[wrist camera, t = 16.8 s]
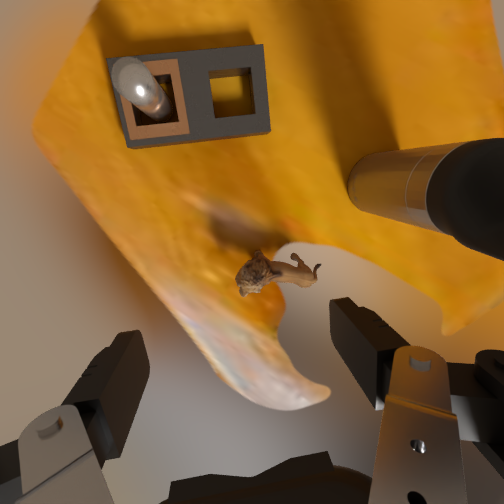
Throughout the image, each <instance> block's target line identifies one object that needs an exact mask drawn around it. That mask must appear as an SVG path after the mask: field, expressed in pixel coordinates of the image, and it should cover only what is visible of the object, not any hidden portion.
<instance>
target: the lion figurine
mask: <svg viewBox="0 0 504 504" xmlns="http://www.w3.org/2000/svg"><path fill="white" fill-rule="evenodd" d="M254 254H255V255H254V256H255V257H254V258H253V259H252V260H248V261H247V262H246V263H245V265H244V266H243V267H242V268H241V269H240V270H239V272H238V274H237V276H236V278H235V280H236V282H237V285H238V286H239V287H240V289H239V292H240V294H241V296H242V297H246V295H247V294H248V293H252V292H255V293H259V292H260V289H261V288H262V287H263V286H264V285H266V284H269V283H270V282H271V281H275V282H284V283H285V282H289V283H294V284H297V285H298V286H300V287H304V288H306V287H310V286H311V284H314V283H315V282H316V281H317V274H316V271H317V269H318V268H319V267H320V266H321V264H317V265H316V266H315V267H314V270H313V272H312V271H311V269H310V268H309V267H308V266H306V265H305V264H304V262H303V261H302V260H301V259H300V258H299V256H298V255H297V254H295V253H292V254H291V259H292V260H295V261H297V262H298V267H294V266H292V265H290V264H287V263H284V262H277V261H270V260H269V259H268V258H266V257H265V256H264V255H263V253H262V252H261V251H259V250H257V251H255V253H254ZM256 257H257V258H256Z"/></svg>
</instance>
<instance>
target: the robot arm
mask: <svg viewBox="0 0 504 504" xmlns="http://www.w3.org/2000/svg"><path fill="white" fill-rule="evenodd" d="M348 194H349V197H350V199H351V201H352V203H353V204H354V205H355V206H356V207H357V208H358V209H360V210H362V211H365V212H368V213H372V214H375V215H378V216H382V217H385V218H389V219H393V220H396V221H400V222H403V223H407V224H411V225H414V226H418V227H421V228H425V229H429V230H433V231H436V232H440V233H444V234H447V235H451V236H453V237H454V238H455V239H456V240H457V241H458V242H460V243H461V244H462V245H464V246H466V247H468V248H470V249H473V250H475V251H478V252H481V253H484V254H486V255H489V256H492V257H494V258H497V259H500V260H502V261H504V138H492V139H483V140H476V141H467V142H459V143H451V144H445V145H437V146H428V147H420V148H412V149H404V150H396V151H388V152H380V153H373V154H370V155H367V156H366V157H364V158H362V159H361V160H360V161H359V162H358V163H357V164H356V165H355V167H354V168H353V169H352V171H351V173H350V176H349V180H348ZM329 310H330V333H331V339H332V342H333V344H334V346H335V348H336V350H337V351H338V352H339V354H340V356H341V357H342V359H343V360H344V362H345V364H346V365H347V367H348V368H349V370H350V371H351V373H352V374H353V376H354V377H355V379H356V380H357V382H358V384H359V385H360V387H361V388H362V390H363V391H364V393H365V394H366V396H367V398H368V399H369V401H370V402H371V404H372V405H373V407H374V408H375V410H381V409H384V410H383V416H382V422H381V428H380V434H379V441H378V447H377V453H376V460H375V465H374V471H373V478H371V477H369V476H367V475H365V474H363V473H361V472H359V471H356V470H353V469H350V468H347V467H342V466H336V465H333V464H332V462H331V459H330V456H329V454H328V451H325V452H320V453H315V454H310V455H305V456H300V457H295V458H290V459H288V460H286V461H284V462H282V463H280V464H278V465H276V466H274V467H272V468H270V469H268V470H266V471H264V472H262V473H260V474H258V475H256V476H254V477H239V476H228V475H217V474H208V475H203V476H198V477H193V478H187V479H183V480H177V481H172V482H171V486H170V491H169V497H168V499H167V500H164V501H162V502H161V503H159V504H467V496H466V487H465V479H464V470H463V461H462V453H461V444H460V440H467V441H472V442H473V444H474V445H475V446H476V447H477V448H478V450H479V451H480V452H481V453H482V454H483V455H484V457H485V458H486V459H487V460H488V461H489V462H490V463H491V465H492V466H493V467H494V468H495V469H496V471H497V472H498V473H499V474H500V475H501V476H502V478H503V479H504V351H501V350H482V351H480V352H478V353H477V354H476V357H475V364H464V363H450V362H446V361H445V360H444V358H443V357H441V356H440V355H439V354H437V353H436V352H434V351H432V350H430V349H427V348H424V347H420V346H411V345H410V344H409V343H408V342H407V341H406V340H404V339H403V338H402V337H401V336H400V335H399V334H398V333H397V332H396V331H394V329H392V328H391V327H390V326H389V325H388V324H387V323H386V322H385V321H384V320H382V318H381V317H380V316H378V315H377V314H376V313H375V312H374V311H372V310H369V309H367V308H365V307H358V306H357V305H356V304H355V303H354V302H353V301H352V300H351V299H350V298H349V297H345V298H339V299H332V300H330V303H329ZM149 373H150V365H149V359H148V356H147V352H146V348H145V345H144V341H143V337H142V334H141V332H140V331H139V330H133V331H127V332H121V333H119V334H117V336H116V337H115V339H114V341H113V342H112V344H111V345H110V347H105V348H104V349H103V350H102V351H101V352H99V353H98V354H97V355H96V356H95V357H94V358H93V360H92V361H91V362H90V364H89V365H88V367H87V369H86V370H85V371H84V373H83V374H82V377H81V378H79V380H78V381H77V383H76V384H75V386H74V387H73V388H72V390H71V391H70V393H69V394H68V396H67V397H66V398H65V400H64V401H63V403H62V404H61V406H58V407H55V408H53V409H50V410H48V411H46V412H45V413H43V414H41V415H40V416H38V417H37V418H36V419H34V420H33V421H32V422H31V423H30V424H29V425H28V426H27V427H26V428H25V429H24V430H23V432H22V433H21V435H20V437H19V439H17V440H15V441H12V442H10V443H7V444H5V445H2V446H0V504H114V501H113V499H112V496H111V494H110V491H109V489H108V486H107V484H106V481H105V478H104V476H103V474H102V471H101V470H102V467H103V465H104V463H105V460H109V459H115V458H119V457H120V456H121V453H122V451H123V448H124V445H125V442H126V439H127V437H128V434H129V431H130V428H131V426H132V423H133V420H134V417H135V414H136V411H137V409H138V406H139V403H140V400H141V398H142V394H143V392H144V389H145V386H146V384H147V381H148V378H149Z"/></svg>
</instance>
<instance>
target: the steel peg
mask: <svg viewBox="0 0 504 504" xmlns="http://www.w3.org/2000/svg"><path fill="white" fill-rule="evenodd" d="M111 78H112V83H113V85H114V87H115V89H116V90H117V92H118V93H119V94H120V95H122V96H123V97H124V98H125V99H127V100H128V101H129V102H131V103H132V104H133V105H135V106H136V107H137V108H139V109H140V110H141V111H143V112H144V113H145V114H146V115H148V116H149V117H150V118H152V119H153V120H155V121H157V122H165V121H167V120H168V119H170V117H171V116H172V113H173V105H172V102H171V100H170V99H169V97H168V96H167V95H166V93H165V92H164V90H163V89H162V88H161V86H160V85H159V84H158V82H157V81H156V79H155V78H154V77H153V75H152V74H151V72H150V71H149V70H148V68H147V67H146V65H145V64H144V63H143V62H142V61H140V60H139V59H137V58H134V57H123V58H120V59H119V60H117V61H116V62H115V64H114V66H113V68H112V72H111Z"/></svg>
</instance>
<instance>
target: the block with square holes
mask: <svg viewBox="0 0 504 504" xmlns="http://www.w3.org/2000/svg"><path fill="white" fill-rule="evenodd" d="M127 57H134V58H137V59H139V60H140V61H142V62H143V63H144V64H145V65H146V67H147V68H148V70H149V71H150V72H151V74H152V75H153V77H154V78H155V79H156V81H157V82H158V84H162V83H172V85H173V91H174V96H175V102H176V107H177V113H178V119H179V122H173V123H163V124H154V125H145V126H142V121H141V116H140V112H139V108H137V107H136V106H135V105H133V104H132V103H131V102H129V101H128V100H127V99H125V98H124V97H123V96H122V95H120V94H119V93H118V92H117V90H116V89H115V87H114V85H113V83H112V85H113V90H114V94H115V98H116V102H117V106H118V111H119V115H120V119H121V123H122V128H123V132H124V136H125V140H126V145H127V148H131V149H142V148H151V147H159V146H168V145H177V144H186V143H195V142H203V141H212V140H221V139H230V138H239V137H247V136H256V135H265V134H268V133H269V132H271V127H270V116H269V105H268V93H267V82H266V71H265V59H264V48H263V44H259V45H248V46H237V47H226V48H215V49H204V50H193V51H182V52H171V53H160V54H149V55H138V56H127ZM120 58H123V57H116V58H106V60H107V64H108V68H109V73H110V77H111V72H112V68H113V66H114V64H115V62H116V61H117V60H119V59H120ZM244 75H249V82H250V92H251V101H252V111H253V114H251V115H241V116H232V117H223V118H215V116H214V109H213V102H212V95H211V87H210V80H209V79H213V78H223V77H233V76H244ZM111 81H112V78H111Z"/></svg>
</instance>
